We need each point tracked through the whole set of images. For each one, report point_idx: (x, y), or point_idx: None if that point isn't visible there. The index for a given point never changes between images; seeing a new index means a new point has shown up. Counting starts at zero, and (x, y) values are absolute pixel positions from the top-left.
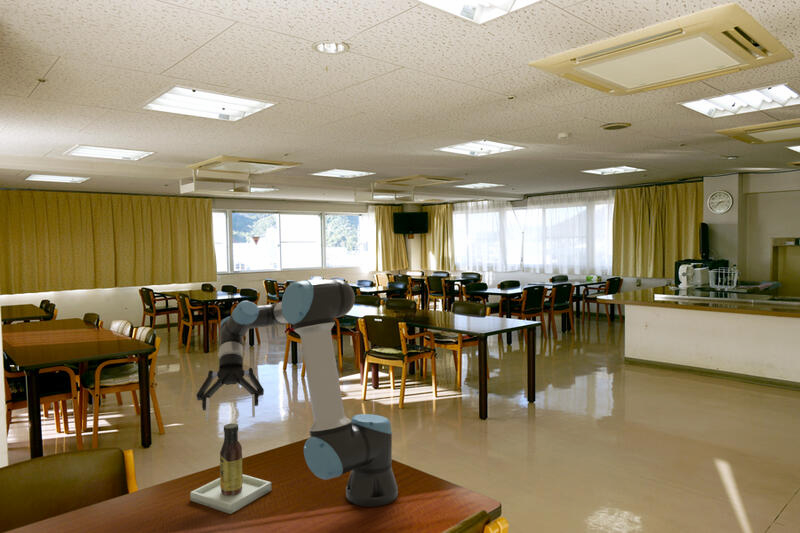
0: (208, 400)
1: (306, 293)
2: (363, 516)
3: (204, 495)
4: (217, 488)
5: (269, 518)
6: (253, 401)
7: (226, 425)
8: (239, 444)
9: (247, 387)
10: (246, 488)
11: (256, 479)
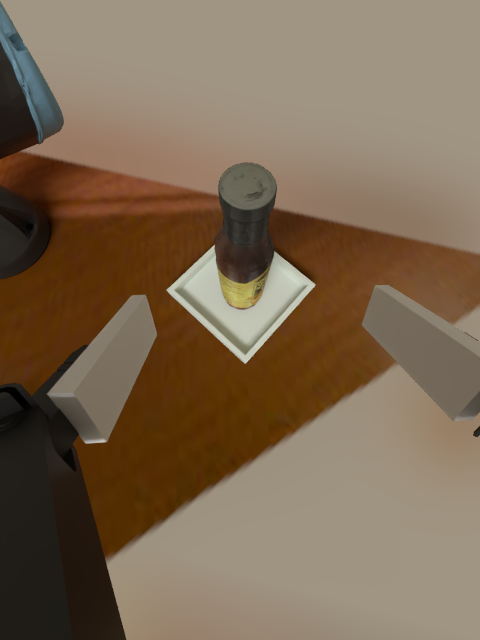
0: (470, 349)
1: None
2: (45, 181)
3: (287, 265)
4: (269, 312)
5: (180, 206)
6: (102, 339)
7: (266, 189)
8: (219, 233)
9: (64, 528)
10: (215, 298)
11: (194, 309)
